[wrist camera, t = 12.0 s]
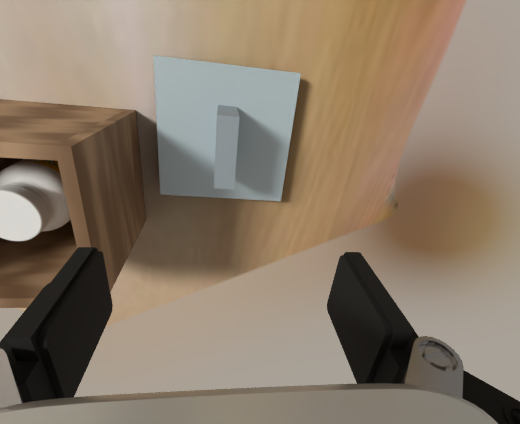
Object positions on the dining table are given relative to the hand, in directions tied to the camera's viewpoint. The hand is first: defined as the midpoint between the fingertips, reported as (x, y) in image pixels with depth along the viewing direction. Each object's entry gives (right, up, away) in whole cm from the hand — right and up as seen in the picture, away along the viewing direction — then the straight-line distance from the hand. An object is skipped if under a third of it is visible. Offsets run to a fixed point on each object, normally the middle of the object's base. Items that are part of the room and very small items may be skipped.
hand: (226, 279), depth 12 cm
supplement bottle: (-20, +8, +23) cm, 32 cm away
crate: (-20, +8, +23) cm, 32 cm away
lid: (-3, +12, +23) cm, 26 cm away
